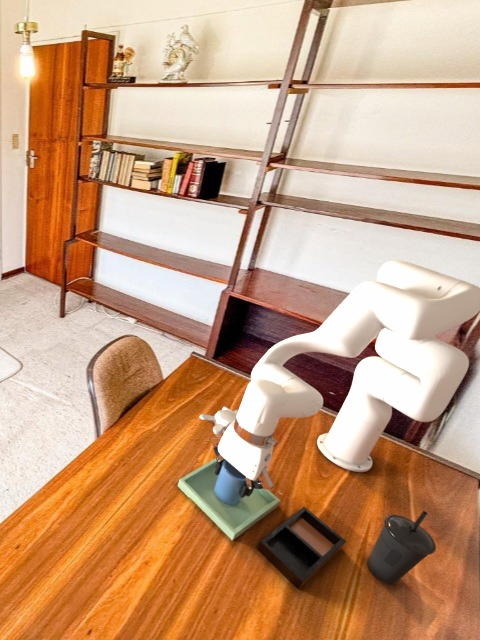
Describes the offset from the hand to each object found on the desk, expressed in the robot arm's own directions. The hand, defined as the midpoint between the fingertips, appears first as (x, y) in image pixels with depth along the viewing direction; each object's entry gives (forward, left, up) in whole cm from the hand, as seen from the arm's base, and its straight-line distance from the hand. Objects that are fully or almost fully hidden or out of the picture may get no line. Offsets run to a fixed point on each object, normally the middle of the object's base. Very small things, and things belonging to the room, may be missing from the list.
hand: (231, 482), depth 97 cm
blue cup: (0, 0, -4) cm, 4 cm away
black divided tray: (-3, +16, -5) cm, 17 cm away
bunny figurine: (-20, -15, -5) cm, 26 cm away
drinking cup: (-14, +27, -5) cm, 31 cm away
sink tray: (0, 0, -5) cm, 5 cm away
